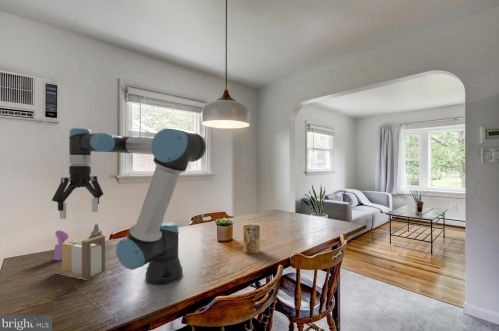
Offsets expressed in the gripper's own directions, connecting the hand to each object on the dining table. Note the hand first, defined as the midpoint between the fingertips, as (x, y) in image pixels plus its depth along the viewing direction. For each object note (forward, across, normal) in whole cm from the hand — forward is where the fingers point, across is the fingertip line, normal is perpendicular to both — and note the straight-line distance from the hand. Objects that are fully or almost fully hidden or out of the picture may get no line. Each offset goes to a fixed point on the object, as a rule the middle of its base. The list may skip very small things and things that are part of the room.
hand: (79, 215), depth 102 cm
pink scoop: (+28, -13, -28) cm, 42 cm away
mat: (+27, -4, -5) cm, 28 cm away
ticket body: (+27, -4, -1) cm, 27 cm away
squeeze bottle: (+27, -17, -11) cm, 34 cm away
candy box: (+26, -53, +60) cm, 84 cm away
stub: (+27, -4, -11) cm, 29 cm away
